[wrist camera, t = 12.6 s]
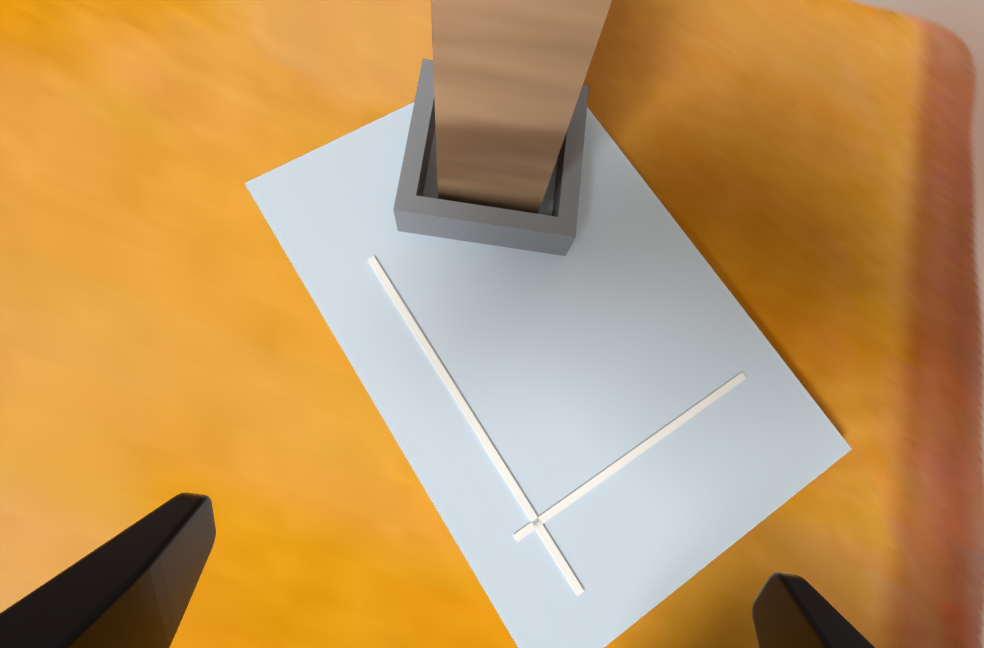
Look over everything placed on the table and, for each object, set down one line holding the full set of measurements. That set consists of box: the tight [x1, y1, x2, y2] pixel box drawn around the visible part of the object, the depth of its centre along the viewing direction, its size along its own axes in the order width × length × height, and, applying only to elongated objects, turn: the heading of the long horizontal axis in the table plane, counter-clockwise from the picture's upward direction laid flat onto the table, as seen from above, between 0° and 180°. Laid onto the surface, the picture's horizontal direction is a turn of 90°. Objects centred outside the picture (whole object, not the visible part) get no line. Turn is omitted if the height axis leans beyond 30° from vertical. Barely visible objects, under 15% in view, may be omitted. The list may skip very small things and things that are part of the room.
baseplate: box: [245, 59, 851, 648], centre depth 23 cm, size 24×16×3 cm, turn 33°
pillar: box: [431, 0, 612, 214], centre depth 19 cm, size 4×4×13 cm
